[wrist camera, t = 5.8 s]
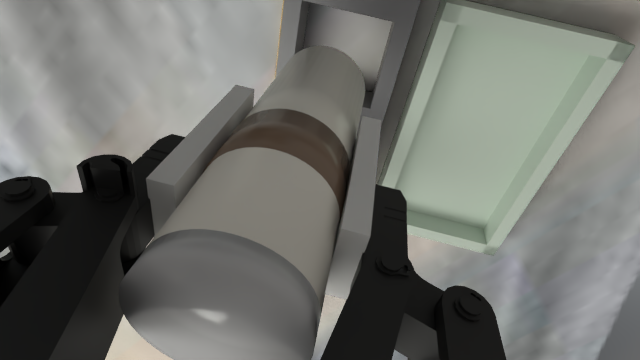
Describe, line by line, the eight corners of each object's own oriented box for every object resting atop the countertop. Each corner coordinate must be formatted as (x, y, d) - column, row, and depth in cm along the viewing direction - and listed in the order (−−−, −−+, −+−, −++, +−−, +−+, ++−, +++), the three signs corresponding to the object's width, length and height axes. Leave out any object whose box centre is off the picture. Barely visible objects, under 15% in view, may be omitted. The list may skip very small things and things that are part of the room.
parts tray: (442, -6, 24) (446, 2, 22) (614, 34, 23) (635, 46, 21) (370, 205, 34) (368, 223, 32) (487, 235, 34) (493, 255, 32)
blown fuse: (285, 35, 18) (98, 230, 7) (376, 56, 18) (336, 293, 7) (275, 117, 21) (130, 354, 10) (354, 137, 20) (300, 400, 9)
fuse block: (289, -41, 24) (277, -36, 22) (419, -11, 24) (421, -3, 21) (265, 178, 35) (255, 197, 32) (354, 201, 35) (351, 222, 32)
